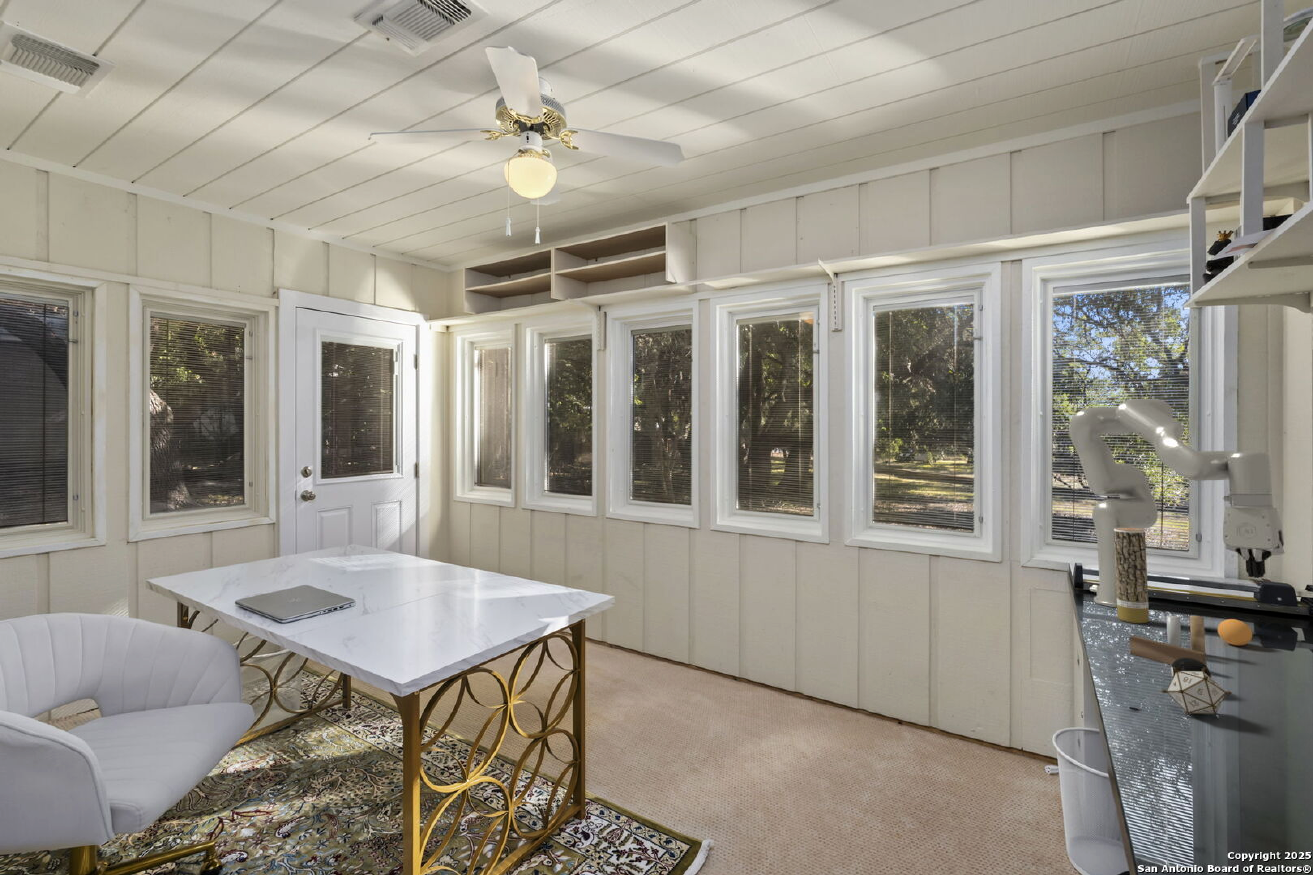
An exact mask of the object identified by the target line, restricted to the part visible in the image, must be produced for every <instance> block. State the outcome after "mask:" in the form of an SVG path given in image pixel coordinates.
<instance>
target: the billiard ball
mask: <svg viewBox="0 0 1313 875" xmlns="http://www.w3.org/2000/svg"><path fill="white" fill-rule="evenodd" d="M1170 666H1171V667H1170V674H1171V676H1172V678H1173V677H1174V675H1175V672H1176V671H1174V669H1173V667H1175V668H1176V669H1177V670H1178V671H1202V668H1204V667H1205V669H1206V670H1205V673H1206V674H1207V675H1208V676H1209V677H1210V678H1211V679H1212V673H1211V671H1210V669H1209V667H1208V665H1207V666H1206V665H1205V664H1204V663H1202V662H1200V661H1199V660H1196V659H1193V658H1180V659H1177V660H1175V661H1174V662H1173V664H1172V665H1170Z"/></svg>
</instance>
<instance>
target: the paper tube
mask: <svg viewBox="0 0 1313 875" xmlns="http://www.w3.org/2000/svg"><path fill="white" fill-rule="evenodd" d="M1114 544H1115V567H1116V591H1117V608H1116V610H1117V611H1116V612H1117V618H1118V620H1120V621H1123V622H1126V623H1129V624H1130V623H1131V624H1147V623H1149V621H1150V616H1149V591H1148V590H1149V587H1148V565H1147V548H1146V547H1147V546H1146V545H1147V544H1146V530H1145V529H1138V528H1114Z"/></svg>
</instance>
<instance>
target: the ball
mask: <svg viewBox="0 0 1313 875" xmlns="http://www.w3.org/2000/svg"><path fill="white" fill-rule="evenodd" d="M1217 634H1218V635H1219V637H1220V639H1221V640H1222V641H1224V642H1226V643H1227V644H1230V645H1232V646H1244V645H1246V644H1247V645H1248V643H1250V642H1251V641H1252V638H1253V631H1252V630H1251V627H1249V625H1248V624H1246V622H1244V621H1242V620H1238V619H1235V618H1228V619H1225V620H1222V621H1221V622H1220V623H1219V624H1218V627H1217Z"/></svg>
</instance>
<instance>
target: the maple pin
mask: <svg viewBox="0 0 1313 875" xmlns="http://www.w3.org/2000/svg"><path fill="white" fill-rule="evenodd" d="M1189 625H1190V626H1189V627H1190V646H1191V648H1190V649H1191V650H1195V651H1199V652H1203V653H1206V638H1205V637H1206V635H1205V633H1206V632H1205V617H1203V616H1199V615H1189Z"/></svg>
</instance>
